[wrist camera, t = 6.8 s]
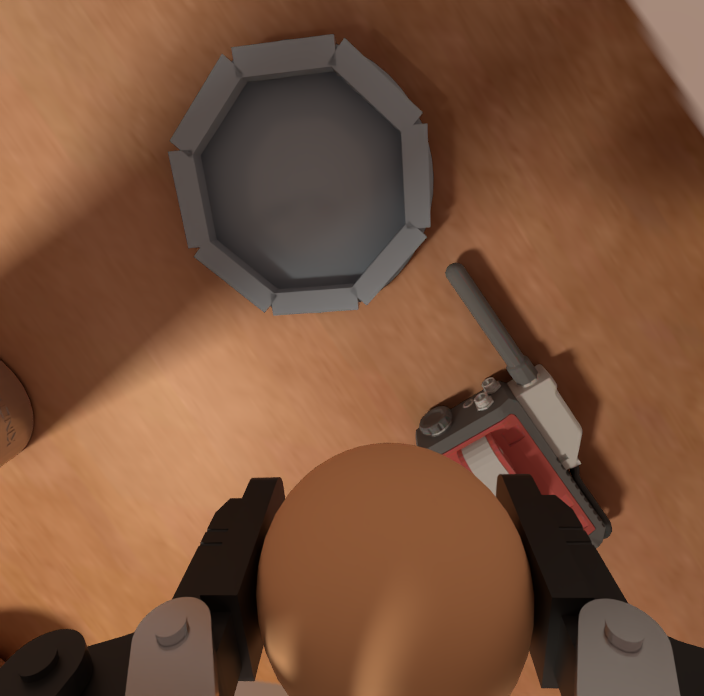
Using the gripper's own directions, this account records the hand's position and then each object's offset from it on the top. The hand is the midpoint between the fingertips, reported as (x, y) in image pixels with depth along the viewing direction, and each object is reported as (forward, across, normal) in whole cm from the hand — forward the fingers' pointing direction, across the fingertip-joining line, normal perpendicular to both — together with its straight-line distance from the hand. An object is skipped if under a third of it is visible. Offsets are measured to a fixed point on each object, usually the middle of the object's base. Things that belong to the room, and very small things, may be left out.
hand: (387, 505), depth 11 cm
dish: (+15, +4, -8) cm, 17 cm away
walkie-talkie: (+16, -6, +7) cm, 18 cm away
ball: (-2, 0, 0) cm, 2 cm away
